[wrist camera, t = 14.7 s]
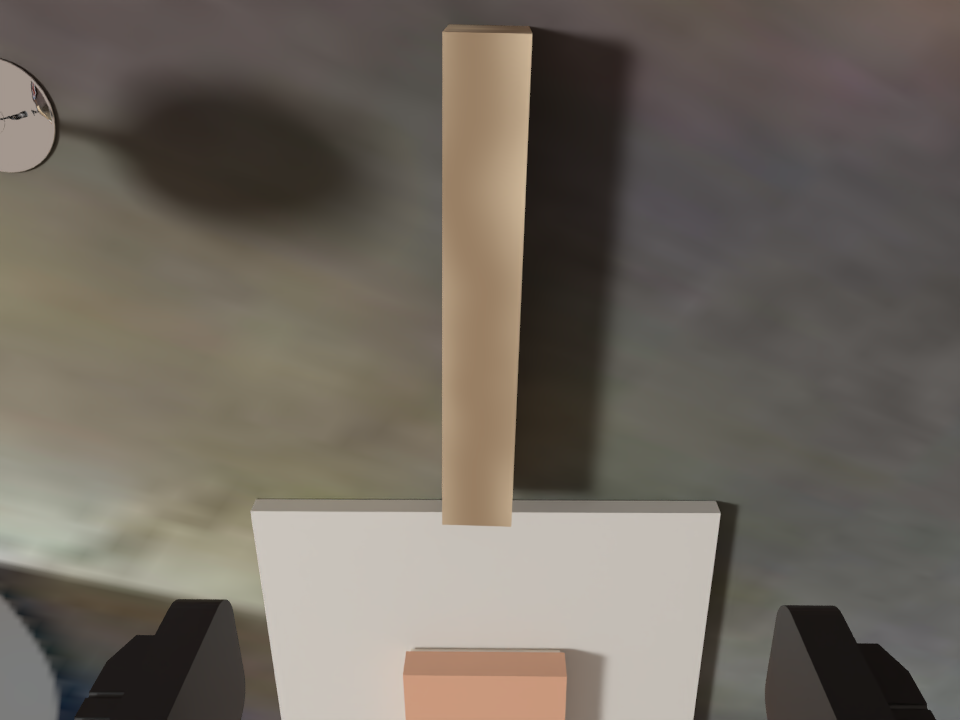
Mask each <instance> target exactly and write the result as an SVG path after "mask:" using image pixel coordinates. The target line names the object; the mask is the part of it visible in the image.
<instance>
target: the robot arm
mask: <svg viewBox="0 0 960 720" xmlns="http://www.w3.org/2000/svg"><path fill="white" fill-rule="evenodd" d="M244 699H245V676H244V670H243V664H242V659H241V653H240V647H239V642H238V636H237V631H236V625H235V619H234V614H233V609H232V606H231V604H230V602H229V601H228V600H207V599H178V600H176V601H174V602H173V603H172V604H171V606H170V608H169V610H168V611H167V613H166V615H165V617H164V619H163V621H162V623H161V625H160V626H159V628H158V630H157V632H156V634H155V635H136V636H135V637H134V638H133V639H132V640H130V641H129V642H128V643H127V644H126V645H125V646H124V647H123V648H122V649H120V650H119V651H118V652H117V653H116V654H115V655H114V656H113V657H111V658H110V659H109V660H108V661H107V662H106V664H105V666H104V667H103V669H102V671H101V673H100V674H99V676H98V678H97V680H96V681H95V683H94V685H93V686H92V688H91V690H90V692H89V698H85V700H84V702H83V704H82V705H81V707H80V709H79V711H78V712H77V714H76V716H75V720H241V717H242V712H243V707H244ZM765 704H766V713H767V719H768V720H936V719H935V717H934V715H933V714H932V712H931V710H928V709H927V703H926V701H925V700H924V698H923V696H922V694H921V692H920V691H919V689H918V687H917V685H916V684H915V682H914V680H913V678H912V677H911V675H910V673H909V671H908V670H906V669H905V668H904V667H903V666H902V665H901V664H900V663H899V662H898V661H897V660H895V659H894V658H893V657H892V656H891V655H890V654H889V653H888V652H887V651H885V650H884V649H883V648H882V647H881V646H880V645H879V644H858V643H857V642H856V640H855V638H854V637H853V635H852V633H851V631H850V629H849V627H848V625H847V623H846V621H845V619H844V617H843V615H842V613H841V612H840V610H839V609H838V608H837V607H835V606H800V605H783V606H781V607H780V608H779V610H778V612H777V617H776V622H775V628H774V635H773V641H772V647H771V653H770V659H769V665H768V671H767V678H766V685H765Z"/></svg>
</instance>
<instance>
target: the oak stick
mask: <svg viewBox="0 0 960 720" xmlns="http://www.w3.org/2000/svg"><path fill="white" fill-rule="evenodd" d="M531 55H532V32H531V29H530V27H529V26H497V25H452V24H449V25H448V26H447V27H446V28H445V30H444V31H443V150H442V525H470V526H503V527H511V522H512V499H513V475H514V452H515V429H516V405H517V382H518V359H519V335H520V312H521V289H522V265H523V242H524V219H525V195H526V172H527V149H528V125H529V102H530V79H531Z"/></svg>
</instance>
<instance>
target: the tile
mask: <svg viewBox="0 0 960 720" xmlns="http://www.w3.org/2000/svg"><path fill="white" fill-rule="evenodd" d="M403 685H404V701H405V716H406V720H565V709H566V687H567V672H566V661H565V653H562V652H560V650H535V649H411V651H406V656H405V663H404V671H403Z"/></svg>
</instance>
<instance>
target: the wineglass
mask: <svg viewBox="0 0 960 720" xmlns="http://www.w3.org/2000/svg"><path fill="white" fill-rule="evenodd" d="M55 136H56V122H55V116H54V112H53V109H52V106H51V103H50V101H49V99H48V97H47V95H46V94H45V92H44V90H43V89H42V88H41V86H40V85H39V84H38V83H37V82H36V81H35V79H34V78H33V77H31V76H30V75H29V74H28V73H27V72H25V71H24V70H23V69H21V68H20V67H18V66H16V65H14V64H13V63H11V62H8V61H5V60H2V59H0V172H6V173H16V172H24V171H27V170H30V169H32V168H34V167H36V166H37V165H39V164H40V163H41V162H42V161H43V160H44V159H46V157H47V156H48V154H49V153H50V151H51V149H52V147H53V145H54V141H55Z"/></svg>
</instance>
